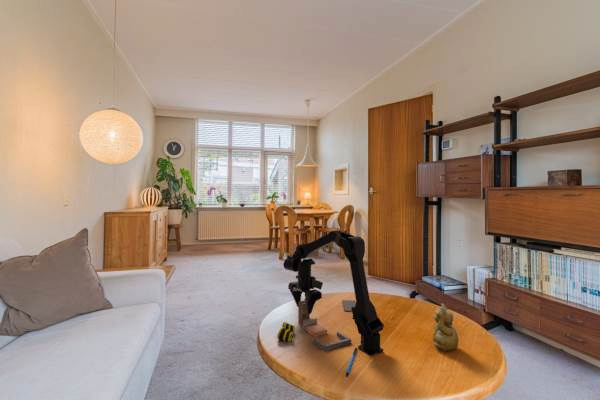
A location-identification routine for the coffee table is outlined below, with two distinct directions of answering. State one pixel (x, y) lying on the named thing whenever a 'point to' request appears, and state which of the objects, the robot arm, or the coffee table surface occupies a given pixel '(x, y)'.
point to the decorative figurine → (444, 330)
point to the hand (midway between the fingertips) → (304, 310)
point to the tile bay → (324, 347)
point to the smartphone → (348, 305)
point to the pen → (351, 362)
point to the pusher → (305, 316)
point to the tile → (316, 330)
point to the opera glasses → (286, 332)
